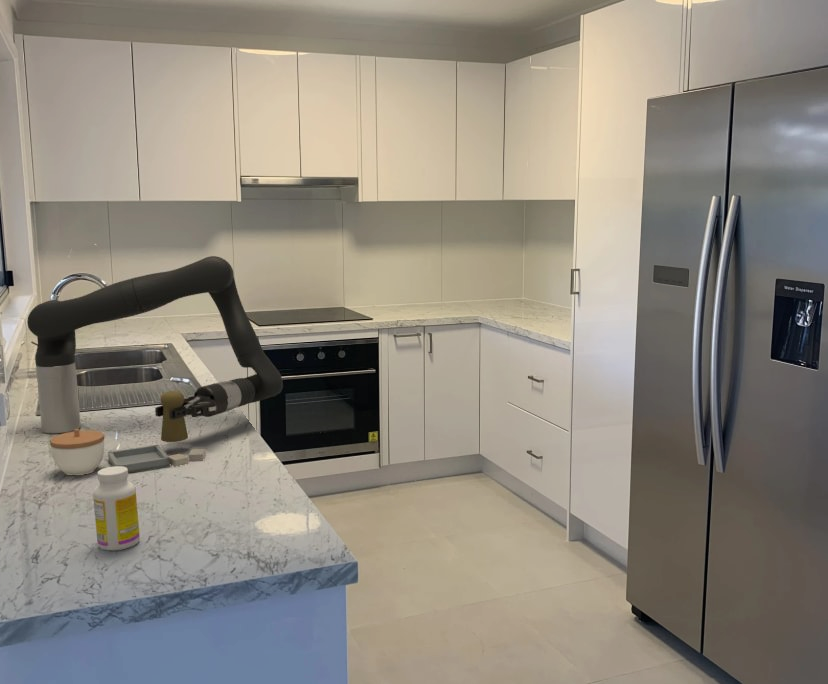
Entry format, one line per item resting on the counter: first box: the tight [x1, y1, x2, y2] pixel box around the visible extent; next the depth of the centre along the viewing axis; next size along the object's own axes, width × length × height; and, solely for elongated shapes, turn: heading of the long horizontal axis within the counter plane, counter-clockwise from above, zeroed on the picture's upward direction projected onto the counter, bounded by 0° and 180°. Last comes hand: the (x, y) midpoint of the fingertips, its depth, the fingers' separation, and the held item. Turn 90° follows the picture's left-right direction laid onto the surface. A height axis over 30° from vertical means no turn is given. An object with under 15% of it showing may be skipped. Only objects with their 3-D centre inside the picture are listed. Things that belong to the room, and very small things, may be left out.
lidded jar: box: [49, 428, 105, 476], centre depth 172 cm, size 11×11×9 cm
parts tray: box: [107, 444, 171, 475], centre depth 178 cm, size 12×11×2 cm
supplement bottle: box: [92, 466, 141, 552], centre depth 134 cm, size 7×7×13 cm
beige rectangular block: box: [188, 448, 207, 462], centre depth 181 cm, size 4×3×2 cm
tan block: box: [167, 453, 189, 468], centre depth 178 cm, size 4×3×2 cm
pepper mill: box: [160, 390, 189, 443], centre depth 185 cm, size 6×6×11 cm
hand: (163, 413), depth 183 cm, fingers closed on pepper mill, 4 cm apart
